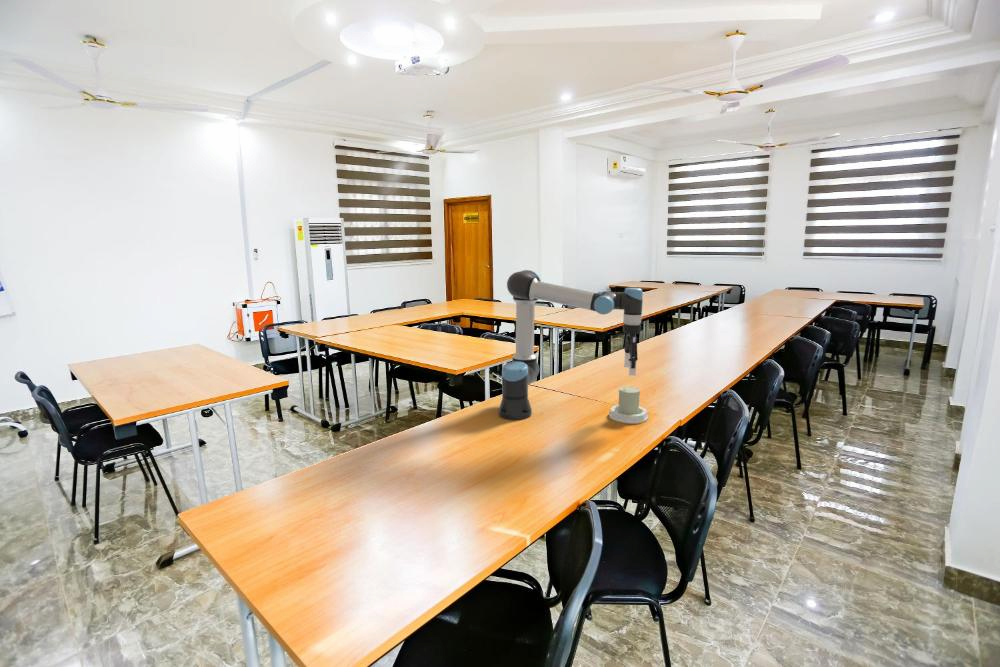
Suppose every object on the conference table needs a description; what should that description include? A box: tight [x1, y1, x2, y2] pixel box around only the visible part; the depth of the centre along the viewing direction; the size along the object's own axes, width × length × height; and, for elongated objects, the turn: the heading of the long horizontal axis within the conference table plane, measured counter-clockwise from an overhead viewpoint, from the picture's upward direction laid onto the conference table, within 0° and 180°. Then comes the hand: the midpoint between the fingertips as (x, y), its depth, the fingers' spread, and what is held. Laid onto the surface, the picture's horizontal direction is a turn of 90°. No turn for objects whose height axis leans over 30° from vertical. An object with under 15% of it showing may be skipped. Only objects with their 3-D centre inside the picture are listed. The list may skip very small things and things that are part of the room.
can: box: [618, 386, 641, 415], centre depth 221 cm, size 9×9×12 cm
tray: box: [608, 404, 649, 425], centre depth 222 cm, size 17×17×3 cm
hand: (629, 371), depth 218 cm, fingers open, 13 cm apart
